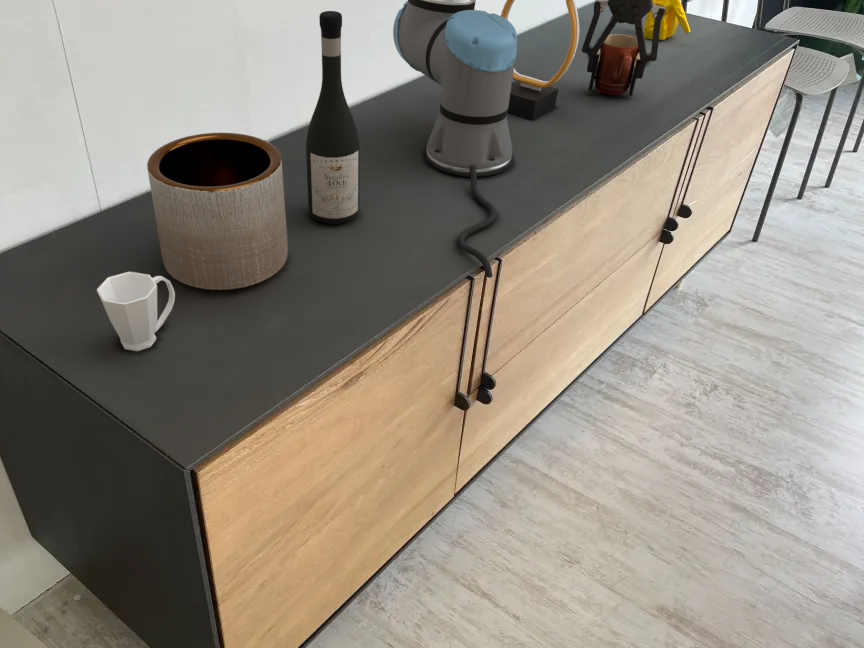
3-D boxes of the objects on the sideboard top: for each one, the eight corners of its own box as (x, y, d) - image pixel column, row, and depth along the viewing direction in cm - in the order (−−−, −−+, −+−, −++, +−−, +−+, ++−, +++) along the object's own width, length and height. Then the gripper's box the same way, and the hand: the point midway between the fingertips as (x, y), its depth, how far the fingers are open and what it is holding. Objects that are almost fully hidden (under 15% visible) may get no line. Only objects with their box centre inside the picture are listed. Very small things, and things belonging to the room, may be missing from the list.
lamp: (478, 103, 159) (497, -73, 139) (502, 91, 165) (524, -80, 144) (549, 125, 151) (581, -57, 131) (572, 112, 156) (606, -66, 136)
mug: (585, 82, 168) (595, 33, 161) (626, 84, 168) (637, 34, 161) (596, 104, 159) (607, 52, 152) (639, 105, 159) (652, 53, 152)
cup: (97, 343, 97) (83, 289, 92) (158, 306, 104) (148, 254, 98) (135, 365, 94) (123, 311, 89) (196, 326, 101) (187, 273, 95)
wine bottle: (362, 225, 121) (364, 21, 101) (311, 228, 120) (303, 23, 100) (355, 200, 127) (356, 3, 107) (306, 203, 126) (298, 5, 106)
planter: (172, 230, 118) (155, 131, 108) (289, 228, 120) (283, 130, 109) (156, 298, 105) (135, 192, 95) (288, 294, 106) (281, 189, 96)
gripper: (693, -29, 149) (661, 91, 164) (585, -39, 153) (563, 78, 168) (693, -19, 144) (660, 103, 158) (581, -31, 148) (559, 90, 163)
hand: (610, 90), depth 163 cm, fingers closed on mug, 7 cm apart
